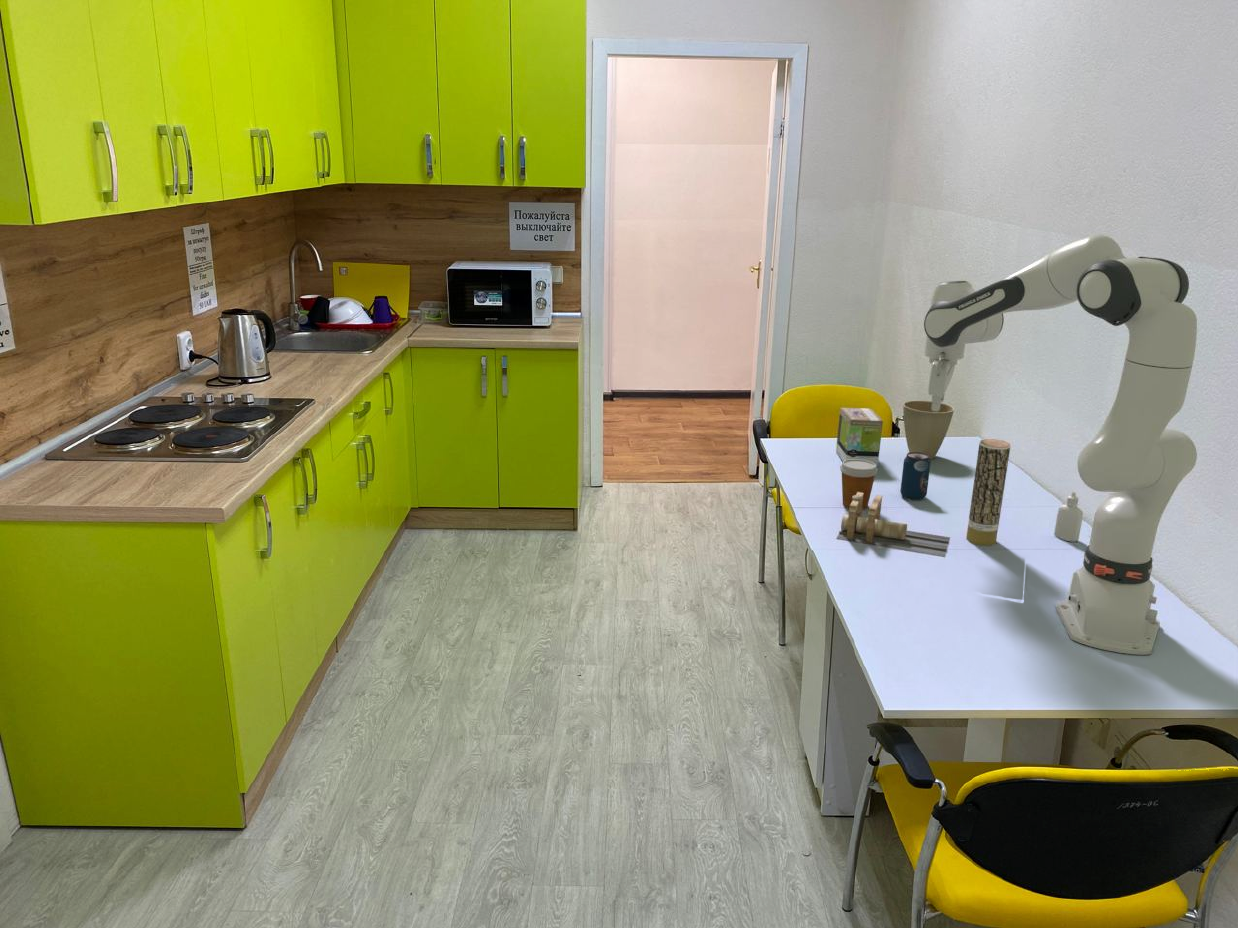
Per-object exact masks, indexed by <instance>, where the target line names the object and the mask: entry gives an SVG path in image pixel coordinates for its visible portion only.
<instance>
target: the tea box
mask: <svg viewBox="0 0 1238 928" xmlns="http://www.w3.org/2000/svg"><path fill="white" fill-rule="evenodd" d="M839 409H840V410H839V418H838V425H837V426H838V429H837V436H836V437H837V438H836V447H835V452H836V454H837V455H838V458H839V459H840V460H841V461H842V462H843V461H845V460H849V459H861V460H867V461H870V462H873V463H875V464H876V468H877V467H878V465H879V457H880V449H881V440H882V433H883V425H884V423H883V422H884V420H883V419H882V418H881V417H880V416H879V415H878V414H877V413H876V412H875V411H874V410H873V409H872V408H861V407H860V408H859V407H840V408H839Z"/></svg>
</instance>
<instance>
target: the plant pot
mask: <svg viewBox="0 0 1238 928" xmlns="http://www.w3.org/2000/svg"><path fill="white" fill-rule="evenodd" d="M902 405H903V407H902V408H903V428H904V435H905V441H906V444H907V449H908V453H910V452H920V453H925V454H927V455H929V460H933V459H934V458H935V457H936V455H937V454H938V452H939V450H940V449H941V446H942V444H943V442H944V440H945V437H946V435H947V434H948V433H947V432H948V431H949V428H950V425H951V423H952V420H953V415H954V412H955V407H953V406H951V405H949V404H947V403H944V402H941V404H940V410H939V411H932V400H931V401H930V400H929V401H928V400H910V401H908V400H907V401H905V402H903V404H902Z"/></svg>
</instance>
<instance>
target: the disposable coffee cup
mask: <svg viewBox="0 0 1238 928" xmlns="http://www.w3.org/2000/svg"><path fill="white" fill-rule="evenodd" d="M839 470H840V471H841V490H842V491H841V493H842V506H843V507H845V508H847V509H849V508H850V504H851V503H852V501H853V499H852V496H854V495H856V494H857V492H861V493H864V495H863V505H862V510H865V509H867V508H868V506H869V502H870V497H871V494H872V490H873V485H874V481H875V476H876V475H877V473H878V468H877V467H876V464H875V463H873V462H870V461H867V460H861V459H849V460H845V461H842V463H841V465H840V466H839Z"/></svg>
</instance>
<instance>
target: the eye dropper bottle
mask: <svg viewBox="0 0 1238 928" xmlns="http://www.w3.org/2000/svg"><path fill="white" fill-rule="evenodd" d="M1076 493H1077V492H1076V491H1072V492H1071V494H1070V495H1068V496H1067V498H1066V503H1065V504H1061V505H1059V507H1058V509H1057V514H1056V520H1055V525H1054V533H1053V535H1054V537H1056V538H1058V539H1061V540H1063V541H1067V542H1071V543H1074V542H1078V541H1079V539H1080V533H1081V530H1082V521H1083V516H1084V512H1083V511H1082V509H1081V508H1080V507H1078V505H1079V503H1078V502H1079V497H1078V496H1077V495H1076Z"/></svg>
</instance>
